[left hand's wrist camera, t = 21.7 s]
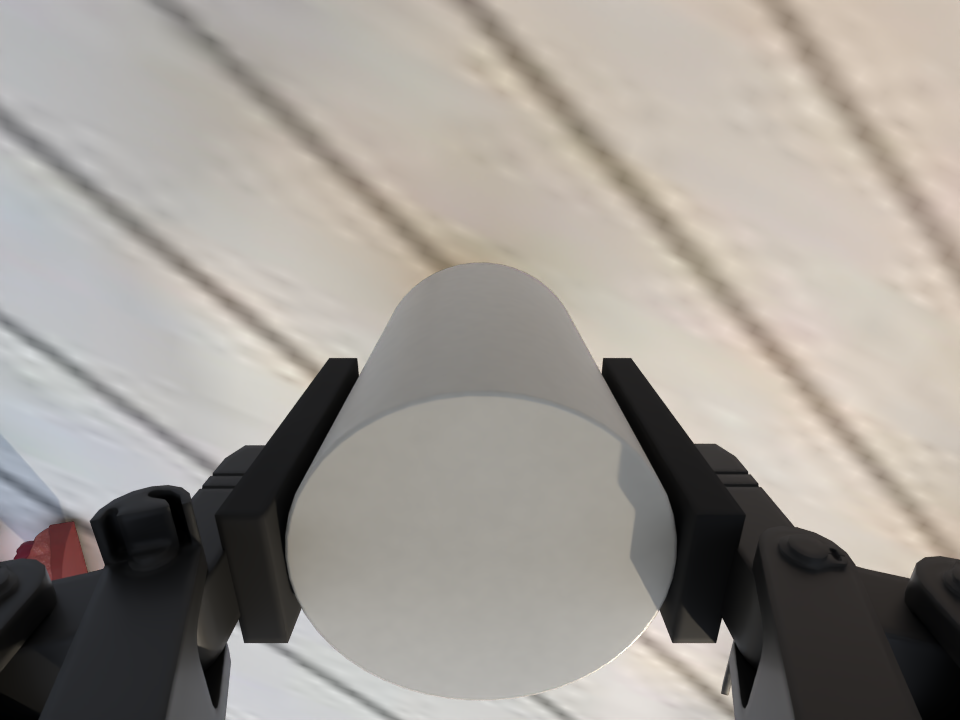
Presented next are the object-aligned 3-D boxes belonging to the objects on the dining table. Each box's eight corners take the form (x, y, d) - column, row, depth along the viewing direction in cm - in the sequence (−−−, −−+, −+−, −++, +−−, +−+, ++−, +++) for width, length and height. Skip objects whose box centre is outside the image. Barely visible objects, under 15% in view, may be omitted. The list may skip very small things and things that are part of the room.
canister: (529, 225, 16) (591, 317, 7) (606, 399, 18) (727, 634, 9) (346, 316, 17) (200, 494, 8) (440, 469, 19) (406, 740, 10)
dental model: (61, 668, 25) (-105, 658, 25) (118, 602, 29) (-25, 593, 29) (37, 576, 24) (-142, 565, 23) (101, 519, 28) (-51, 509, 27)
